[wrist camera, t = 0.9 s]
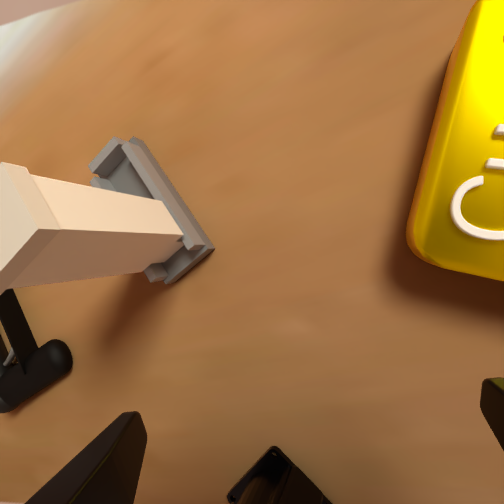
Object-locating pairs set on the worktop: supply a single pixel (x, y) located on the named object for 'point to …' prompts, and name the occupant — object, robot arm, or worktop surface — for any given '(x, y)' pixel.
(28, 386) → the door handle
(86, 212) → the tall lidded box
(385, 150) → the worktop surface
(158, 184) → the switch base
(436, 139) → the element tile
